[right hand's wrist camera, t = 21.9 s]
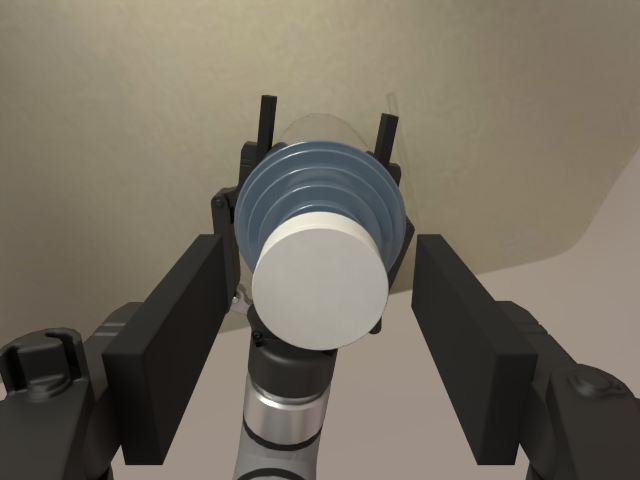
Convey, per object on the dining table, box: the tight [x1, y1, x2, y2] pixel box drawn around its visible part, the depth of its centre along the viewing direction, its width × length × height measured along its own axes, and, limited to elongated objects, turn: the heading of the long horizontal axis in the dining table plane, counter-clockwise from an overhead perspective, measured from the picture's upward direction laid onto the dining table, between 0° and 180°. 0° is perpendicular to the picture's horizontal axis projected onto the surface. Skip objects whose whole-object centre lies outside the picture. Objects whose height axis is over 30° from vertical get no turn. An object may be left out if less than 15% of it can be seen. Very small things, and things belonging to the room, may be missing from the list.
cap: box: [252, 212, 389, 350], centre depth 13 cm, size 4×4×2 cm
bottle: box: [234, 114, 406, 274], centre depth 25 cm, size 8×8×25 cm
